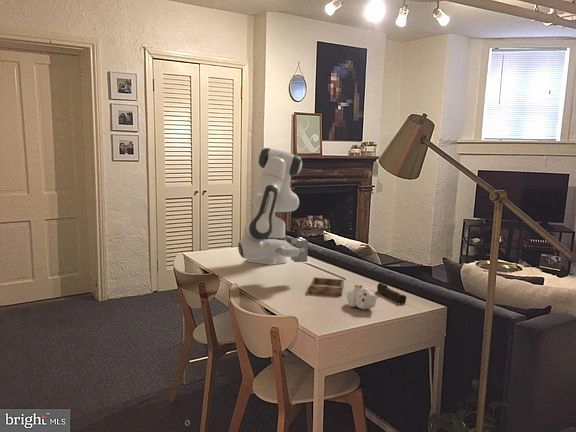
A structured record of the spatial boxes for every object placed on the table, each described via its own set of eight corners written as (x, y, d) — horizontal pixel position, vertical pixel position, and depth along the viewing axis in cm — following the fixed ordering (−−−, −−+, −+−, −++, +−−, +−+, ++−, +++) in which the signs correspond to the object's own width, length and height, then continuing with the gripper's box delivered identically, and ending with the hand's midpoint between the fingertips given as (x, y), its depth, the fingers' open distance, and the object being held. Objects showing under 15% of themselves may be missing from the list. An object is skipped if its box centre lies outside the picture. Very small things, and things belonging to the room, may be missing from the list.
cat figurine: (346, 281, 199) (374, 285, 187) (358, 288, 204) (386, 293, 192) (338, 302, 196) (366, 308, 185) (350, 309, 201) (378, 315, 189)
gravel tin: (295, 262, 223) (296, 238, 222) (290, 259, 229) (291, 236, 227) (307, 261, 225) (308, 238, 224) (302, 258, 231) (303, 235, 229)
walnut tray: (309, 293, 212) (310, 285, 211) (313, 284, 226) (313, 277, 225) (341, 295, 210) (341, 288, 209) (343, 286, 223) (343, 279, 223)
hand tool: (406, 304, 202) (407, 293, 201) (398, 304, 201) (399, 294, 200) (382, 291, 220) (383, 281, 219) (375, 291, 218) (375, 282, 217)
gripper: (280, 246, 212) (309, 245, 216) (267, 237, 231) (294, 237, 235) (279, 260, 213) (308, 259, 217) (267, 250, 232) (293, 249, 236)
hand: (301, 247), depth 226 cm, fingers closed on gravel tin, 6 cm apart
